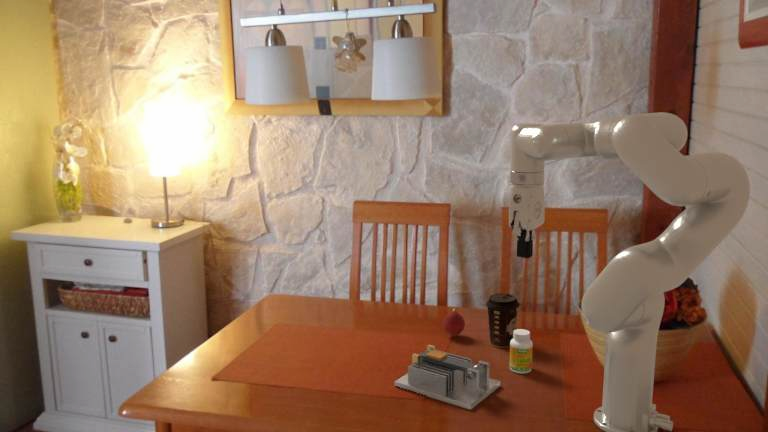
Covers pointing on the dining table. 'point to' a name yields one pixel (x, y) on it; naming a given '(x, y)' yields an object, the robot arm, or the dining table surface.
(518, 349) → the supplement bottle
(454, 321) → the onion
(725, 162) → the robot arm
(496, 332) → the coffee cup
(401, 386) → the heatsink base
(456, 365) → the strap
